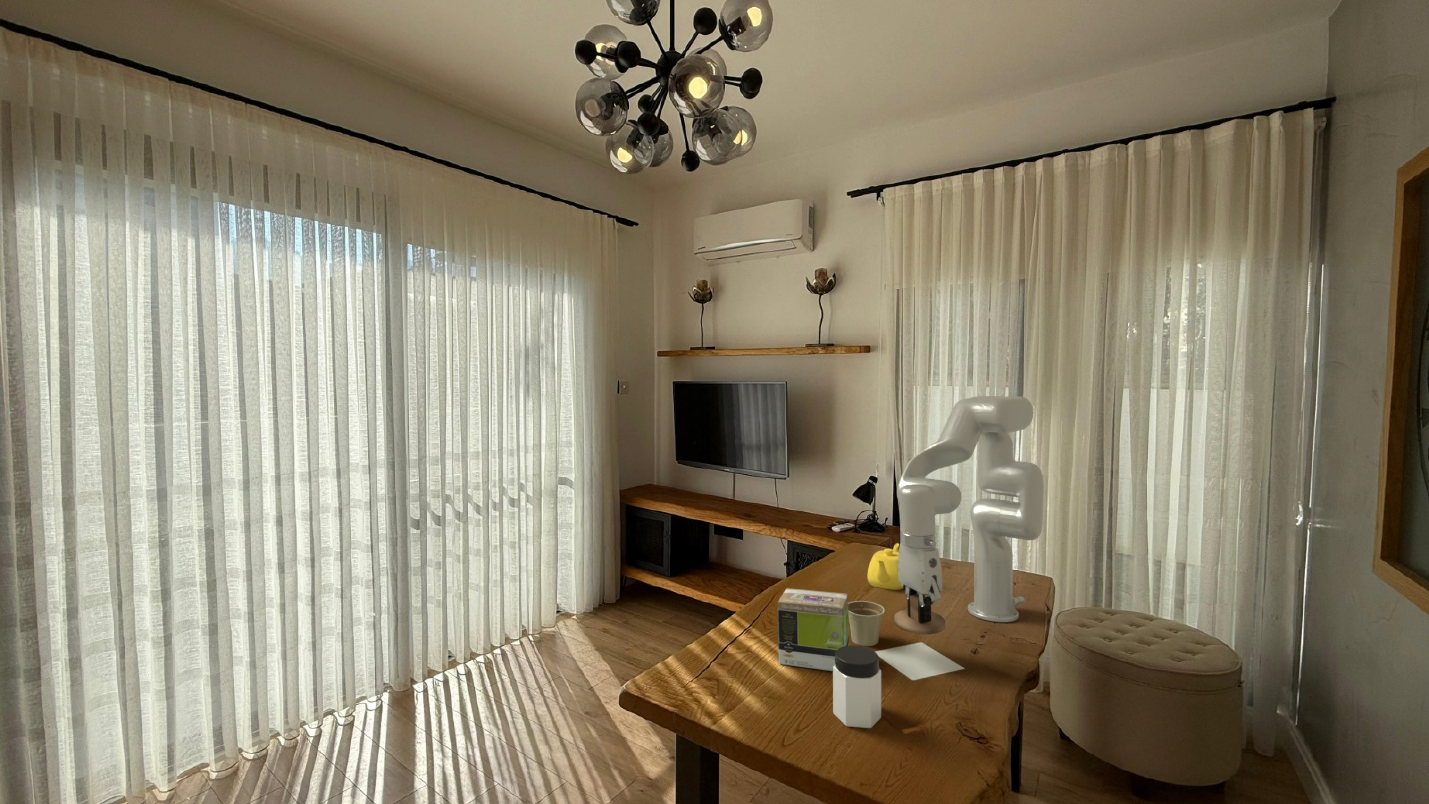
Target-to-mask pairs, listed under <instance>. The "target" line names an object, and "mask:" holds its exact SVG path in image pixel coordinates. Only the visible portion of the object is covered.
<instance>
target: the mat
mask: <svg viewBox="0 0 1429 804" xmlns="http://www.w3.org/2000/svg"><path fill="white" fill-rule="evenodd" d="M875 652H876V653H877V654H878V656H879V659H882V660H883V661H884V662H886V663H887V664H889V665H890V666H892V668H895V669H896V670H897V671H898V672H900V673H901V674H902V675H904V676H905V677H907V678H908V679H909V680H911V681H918V680H922V679H926V678H930V677H935V676H939V675H943V674H947V673H951V672H956V671H960V670H965V667H963V666H961V665H960V664H958V663H957V662H955V661H952V659H950V658H949V657H946V656H945V655H943V654H941V653H940V652H938V651H936V650H935V649H933V648H932V647H930V646H928V645H926V644H925V643H923V642H922V641H919V642H915V643H911V644H910V643H909V644H906V645H905V644H904V645H901V646H896V647H891V648H886V649H881V650H877V651H876V650H875Z"/></svg>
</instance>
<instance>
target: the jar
mask: <svg viewBox="0 0 1429 804" xmlns="http://www.w3.org/2000/svg"><path fill="white" fill-rule="evenodd" d="M879 664H880V657H879V656H878V654H877V653H876V650H874V649H871V648H869V647H867V646H862V645H857V644H855V645H853V644H852V645H851V644H849V646H843V647H841V648H839V649H837V651H836V653H835V665H834V666H833V670H832V689H833V690H832V713H833V715H834V716H835V717H836V718H838V720H840V722H841V723H842V724H843V725H844V726H846V727H851V728H852V727H853V728H862V729H872V728H873V726H874V725H876V723H877V722H878V721H879V720H880V719H881V718H882V670H881V669H880V665H879Z"/></svg>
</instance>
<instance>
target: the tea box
mask: <svg viewBox="0 0 1429 804" xmlns="http://www.w3.org/2000/svg"><path fill="white" fill-rule="evenodd" d="M782 593H783V594H781V596H780V598H779V599H778V601H777V633H778V634H777V635H778V637H777V639H778V640H777V641H778V643H777V645H778V647H777V648H778V663H779V665H786V666H794V667H799V668H807V669H815V670H822V671H828V672H829V671H830V672H833V666H834V665H835V653H836V651H837V649H839V648H841V647H843V646H850V631H849V630H850V622H849V616H848V603H849V594H848V593H844V592H843V593H842V592H830V591H821V590H820V591H819V590H810V589H798V588H788V587H787V588H785V590H784V591H783V592H782Z"/></svg>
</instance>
